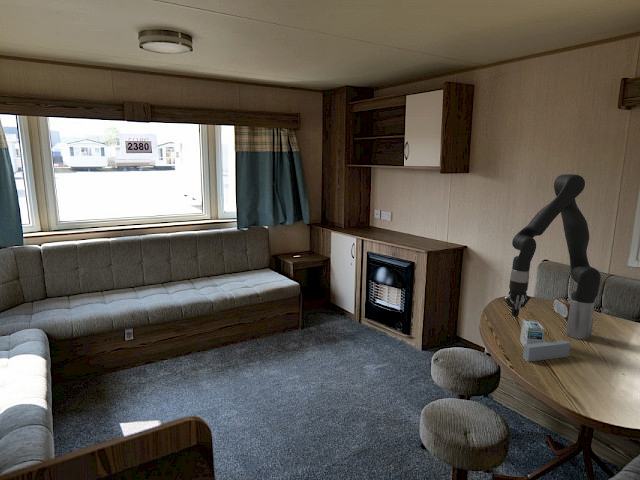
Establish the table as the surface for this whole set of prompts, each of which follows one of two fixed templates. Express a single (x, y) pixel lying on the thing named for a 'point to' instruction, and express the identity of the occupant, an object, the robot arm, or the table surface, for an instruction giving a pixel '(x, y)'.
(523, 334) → the light bulb box
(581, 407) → the table surface
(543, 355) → the slate prism bar
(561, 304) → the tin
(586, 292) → the robot arm
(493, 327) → the table surface
